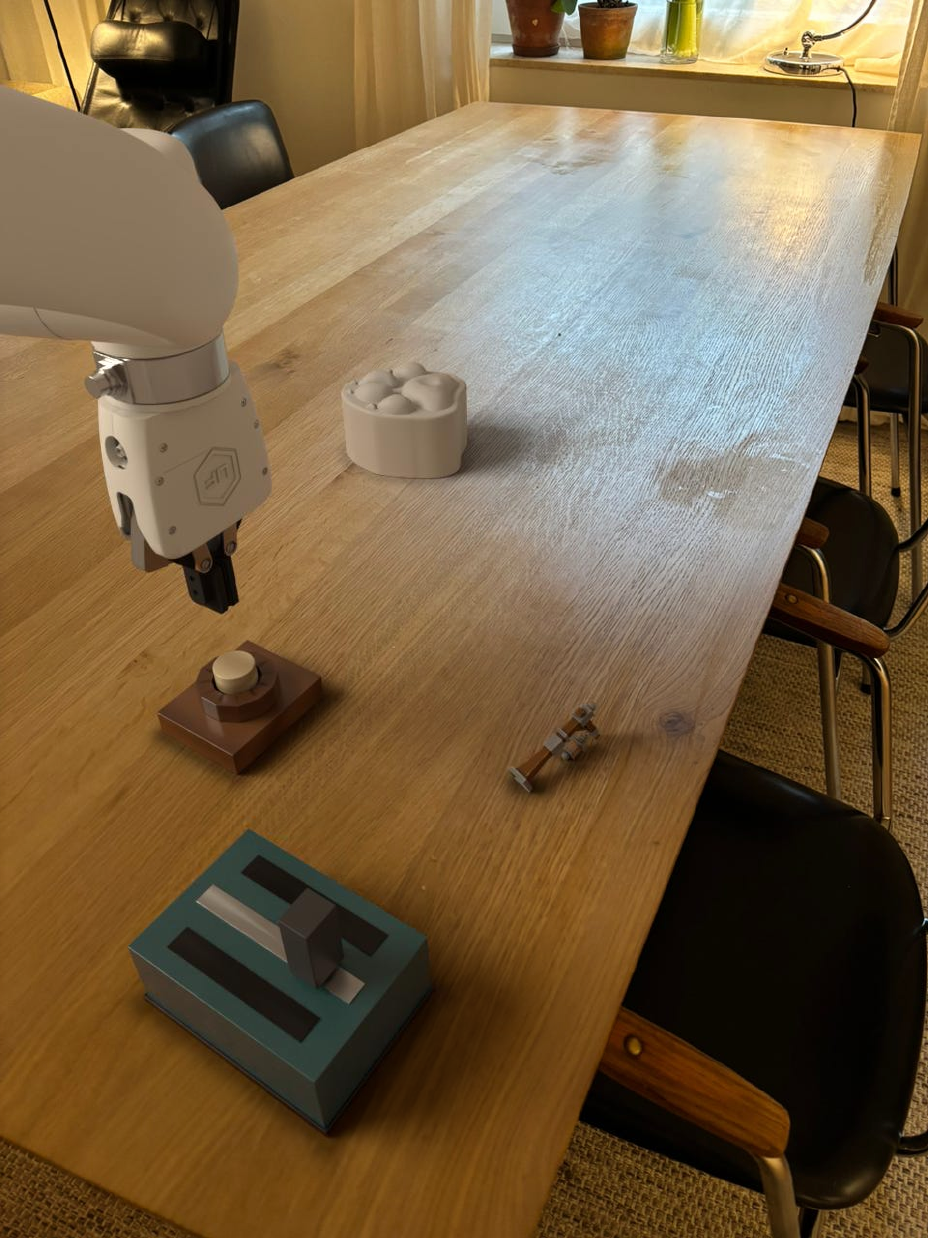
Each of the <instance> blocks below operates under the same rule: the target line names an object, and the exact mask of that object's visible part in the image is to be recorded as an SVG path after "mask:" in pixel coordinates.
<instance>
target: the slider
mask: <svg viewBox="0 0 928 1238" xmlns="http://www.w3.org/2000/svg"><path fill="white" fill-rule="evenodd" d="M278 925H279V929H280V933H281V937H282V941H283V946H284V950H285V954H286V958H287V962H288V966H289V971H290V972H291V973H292V974H294V975H295V976H297V977H298V978H300V979H301V980H303V981H304V982H306V983H307V984H309V985H310V986H312V987H313V988H314V989H316V990H318V988H319V987H320V986H321V985H322V984H323V982H324V981H325V980H326V979H327V978H328V976H329V975H330V974H331V973H332V972H333V970H334V969H335V968H336V967H337V966H338V964H339V963H340V962H341V961H342V960H343V958H344V951H343V945H342V939H341V933H340V927H339V921H338V915H337V909H336V905H334V904H333V903H331V902H330V901H328V900H326V899H325V898H323V897H322V896H320V895H318V894H317V893H315V892H313V891H312V890H310V889H309V888H307V889H306V890H305V891H304V892H303V893H302V894H301V895H300V896H299V897H298V899H297V900H296V901H295V902H294V903H293V904H292V905H291V906H290V907H289V908H288V909H287V910H286V912H285V913H284V914H283V915H282V916H281V917H280V918H279V919H278Z"/></svg>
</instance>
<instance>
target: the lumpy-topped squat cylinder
mask: <svg viewBox="0 0 928 1238" xmlns="http://www.w3.org/2000/svg"><path fill="white" fill-rule="evenodd" d="M467 388H468V386H467V383H466V381H465V380H464V379H462V378H461V377H459V376H458V375H455V374H451V373H449V372H440V371H431V370H430V371H429V370H427V369H426V368H425V367H424V366H423V365H422V364H421V363H419V362H415V361H407V362H404V363H402V364H399V365H398V366H396V367H394V369H389V368H388V369H374V370H372V371H370V372H368V373H367V374H366V375H363V376H361V377H358V378H355V379H354V380H351V381H349V382H348V383H346V384H345V385H344V386H343V387H342V390H341V394H340V396H341V409H342V418H343V429H344V438H345V448H346V449H345V450H346V454H347V456H348V458H349V459H350V460H351V462H352V463H354V464H355V465H357V466H358V467H359V468H362V469H364V470H365V471H369V472H370V473H373V474H376V475H380V476H384V477H385V476H386V477H393V478H404V479H440V478H441V479H442V478H446V477H449V476H453V475H454V474H456V473H457V472H458V471H459V470H460V469H461V466H462V455H463V453H464V452H465V451H466V448H467V446H468V404H467V403H468V395H467V394H468V393H467V390H468V389H467Z"/></svg>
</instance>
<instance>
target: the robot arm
mask: <svg viewBox="0 0 928 1238" xmlns="http://www.w3.org/2000/svg"><path fill="white" fill-rule="evenodd" d="M198 178H199V177H198V174H197V169H196V165H195V161H194V159H193V157H192V154H191V152H190V151H189V149H188V148H187V147H186V145H185V144H184V142H182V141H181V140H180V139H178V138H177V137H176V136H174V135H172V134H170V133H167V132H164V131H159V130H156V129H150V128H139V127H137V128H136V127H133V128H132V127H129V128H128V127H123V128H119V127H117V126H115V125H111V124H110V123H107V122H105V121H103V120H100V119H99V118H95V117H92V116H90V115H87V114H85V113H82V112H80V111H77V110H75V109H72V108H69V107H66V106H64V105H61V104H58V103H56V102H55V103H54V102H52V101H49V100H46V99H43V98H41V97H38V96H35V95H32V94H30V93H26V92H24V91H21V90H18V89H15V88H12V87H10V86H7V85H4V84H2V83H0V335H5V336H14V337H24V338H25V337H27V338H35V339H47V340H59V341H85V342H90V344H91V348H92V352H91V353H92V356H93V361H94V364H95V368H96V369H95V370H93V373H91V374H89V375H87V376H85V378H84V386H85V389H86V390H87V392H88V393H89V395H91V397H92V398H94V399H96V400H97V415H98V416H97V417H98V418H97V419H98V431H99V433H98V435H99V443H100V451H101V452H100V453H101V460H102V465H103V471H104V476H105V482H106V486H107V492H108V495H109V500H110V504H111V508H112V512H113V516H114V519H115V522H116V524H117V528H118V530H119V532H120V534H121V536H122V537H123V538H124V539H125V540H128V541H130V548H131V549H130V553H131V555H130V556H131V564H132V566H133V567H135V568H137V569H139V570H141V571H144V572H145V573H147V574H151V573H153V572H156V571H158V570H160V569H164V568H166V567H169V565H171V564H175V565H179V566H181V567H182V571H183V574H184V579H185V584H186V587H187V592H188V596H189V598H190V599H191V600H192V602H194V603H195V604H197V605H199V606H201V607H205V608H206V609H209V610H211V611H213V612H216V613H217V614H219V615H223V614H225V613H226V612H228V611H229V608H230V607H234V606H236V605H237V604H238V603H239V602H240V597H239V593H238V587H237V583H236V582H237V581H236V575H235V571H234V564H233V559H232V556H233V555H234V554H235V553H236V551H237V550H238V531H239V528H240V526H241V523H242V521H243V519H244V517H245V518H246V516H248V515H249V514H250V513H252V512H253V511H255V510H256V509H258V508H259V507H261V506H262V505H263V504H264V503H265V502H266V501H267V500H268V498H269V497H270V495H271V493H272V491H273V490H272V489H273V479H272V470H271V464H270V459H269V454H268V449H267V445H266V441H265V436H264V433H263V428H262V423H261V421H260V418H259V414H258V410H257V406H256V403H255V401H254V398H253V396H252V393H251V390H250V387H249V385H248V383H247V381H246V378H245V376H244V374H243V372H242V370H241V368H240V365H239V364H238V363H237V362H236V361H234V360H232V359H230V358H229V353H228V349H227V343H226V338H225V331H224V325H225V323H226V322H227V321H228V319H229V317H230V315H231V313H232V311H233V308H234V306H235V302H236V300H237V296H238V291H239V282H240V264H239V256H238V250H237V246H236V241H235V237H234V235H233V233H232V230H231V227H230V225H229V222H228V220H227V218H226V217H225V215H224V213H223V211H222V208H221V207H220V206H219V204H218V202H217V201H216V200H215V198H214V197H213V196H212V194H210V193H209V191H208V190H207V189H206V188H205V187H204V185H203V184H202V183H201V182H200V181H199V179H198Z"/></svg>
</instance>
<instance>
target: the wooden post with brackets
mask: <svg viewBox="0 0 928 1238" xmlns="http://www.w3.org/2000/svg"><path fill="white" fill-rule="evenodd" d="M596 710H597V703H595V702H594V701H589V702H588V703H587V704H586V703H584V702H582V704H581V705H580V706H579V707H578V708H577V709H576V710H574V712H573V713H572V714H571V718H570V719H569V720H568V721H567V722H566V723H564V724H563V726H562V727H561V728H560V727H558V728H556V729H555V731H556V733H555V732H552V733H551V735H550V737H548V739H546V740H545V741H544V742H542V747H541V748H539V750H537V751H536V752H535V753H534V754H533V755H531V756H530V757H529V758H527V759H526V760H525V761H524V762H522V763H521V764H519V765H517V766H516V767H514V766H513V765H512V764H511V765H510V766H509V767H507V768H506V769H507V770H508V772H510V774H511V775H512V777H513V778H514V779H515V780H516V781H517V782H518V783H519V785H521V786H522V787H523V788H524V789H525V790H526V791H527V792H528V793H531V791H532V790H533V789H534V787H532V785H531V784H532V782H533V781H534V779H535V778H536V776H537V775H538V774H539V773H540V771H541V770H542V769H543V767H544V766H545V764H546V763H548V761H549V760H550V759H552V757H554V758H555V757H556V755H558V753H559V752H560V751H561V750H562V749H563V752H562V753H561V754H560V755H561V759H562V760H564V761H567V760H569V759H570V758H571V759H573V760H575V758H576V756H577V755H578V754H579V753H580V752H581V751H583V752H585V748H584V744H585V743H587V738H589V737H592V738H593V739H594V740H595V741H597V740H598V739H599V738H600V737H601V734H600V730H599V729H598V727H597V726H596V725H595V724H594V722H593V721H592V719H593V718H594V717H595V716H596V714H595V711H596ZM583 731H585V732H584V735H582V734H579V737H578V738H577V737H574V736H573V735H574V734H576V733H577V732H583ZM588 734H589V735H588ZM570 738H571V739H570ZM566 743H567V744H566Z"/></svg>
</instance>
